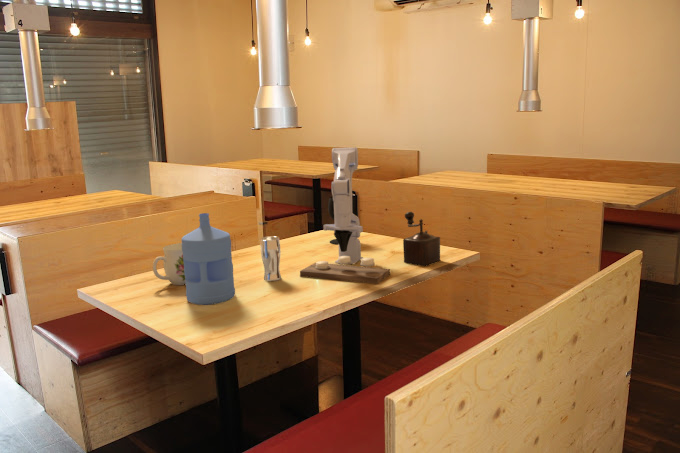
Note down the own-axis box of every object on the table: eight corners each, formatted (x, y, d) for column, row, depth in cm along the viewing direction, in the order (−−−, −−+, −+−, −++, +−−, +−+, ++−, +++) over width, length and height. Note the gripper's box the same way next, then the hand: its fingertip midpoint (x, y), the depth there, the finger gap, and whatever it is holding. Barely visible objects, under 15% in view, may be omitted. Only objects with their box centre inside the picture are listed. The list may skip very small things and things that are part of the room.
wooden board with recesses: (315, 267, 233) (315, 262, 232) (390, 274, 220) (389, 269, 219) (300, 276, 222) (299, 270, 222) (377, 284, 209) (377, 278, 209)
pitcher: (148, 285, 219) (144, 248, 216) (193, 274, 230) (190, 239, 227) (162, 292, 211) (158, 253, 208) (208, 280, 222) (205, 243, 219)
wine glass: (327, 244, 269) (325, 199, 264) (331, 239, 279) (330, 195, 274) (351, 244, 267) (349, 199, 263) (354, 239, 277) (353, 195, 273)
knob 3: (363, 262, 219) (363, 256, 219) (376, 263, 217) (376, 258, 217) (358, 266, 215) (357, 260, 215) (371, 267, 213) (371, 261, 212)
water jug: (193, 291, 210) (186, 210, 204) (239, 289, 209) (233, 208, 204) (180, 306, 195) (172, 219, 189) (230, 305, 194) (222, 217, 188)
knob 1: (319, 265, 228) (319, 260, 227) (331, 266, 226) (331, 261, 225) (313, 269, 223) (312, 263, 223) (325, 270, 221) (325, 264, 221)
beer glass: (279, 282, 216) (276, 240, 213) (260, 281, 218) (257, 240, 215) (284, 276, 223) (282, 235, 220) (266, 276, 225) (263, 235, 221)
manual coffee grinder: (442, 260, 236) (441, 214, 232) (425, 266, 228) (424, 219, 224) (409, 254, 246) (408, 210, 242) (392, 260, 238) (391, 215, 234)
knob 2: (341, 260, 223) (340, 255, 223) (353, 261, 221) (353, 256, 221) (335, 263, 219) (334, 258, 219) (347, 265, 217) (347, 259, 216)
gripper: (318, 214, 216) (320, 252, 219) (356, 216, 210) (357, 255, 213) (327, 211, 222) (329, 247, 225) (364, 212, 216) (366, 250, 219)
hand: (343, 251), depth 219 cm, fingers closed
